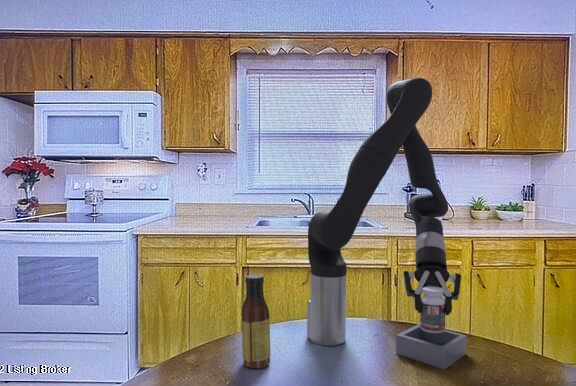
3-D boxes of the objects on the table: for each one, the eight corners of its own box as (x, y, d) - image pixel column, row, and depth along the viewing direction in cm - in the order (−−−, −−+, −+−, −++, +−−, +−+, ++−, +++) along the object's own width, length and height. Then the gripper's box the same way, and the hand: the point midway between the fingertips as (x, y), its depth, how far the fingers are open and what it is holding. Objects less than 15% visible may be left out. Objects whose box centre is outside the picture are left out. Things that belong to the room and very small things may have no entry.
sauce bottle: (274, 360, 98) (275, 274, 97) (264, 372, 92) (265, 280, 91) (248, 356, 100) (249, 271, 99) (236, 367, 94) (237, 277, 93)
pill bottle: (446, 334, 99) (447, 292, 99) (421, 333, 100) (421, 291, 100) (443, 326, 105) (443, 286, 104) (418, 324, 106) (419, 285, 106)
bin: (395, 353, 102) (396, 334, 102) (419, 340, 111) (420, 323, 111) (444, 369, 94) (445, 349, 94) (466, 354, 103) (466, 335, 103)
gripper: (402, 243, 111) (402, 302, 100) (461, 246, 107) (468, 307, 96) (401, 260, 116) (401, 317, 105) (458, 262, 113) (464, 322, 101)
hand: (433, 312), depth 101 cm, fingers closed on pill bottle, 5 cm apart
